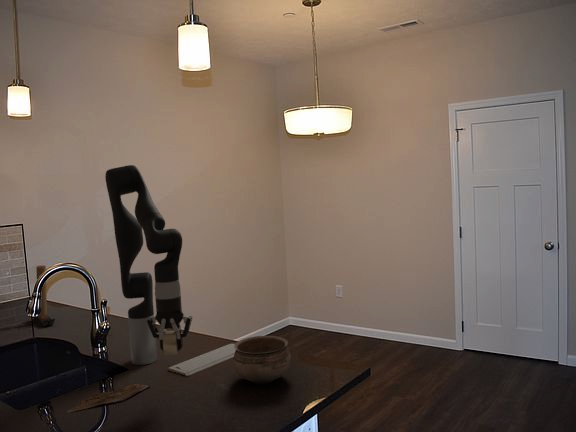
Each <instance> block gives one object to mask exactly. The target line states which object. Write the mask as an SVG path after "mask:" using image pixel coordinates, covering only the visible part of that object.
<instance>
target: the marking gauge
mask: <svg viewBox="0 0 576 432" xmlns="http://www.w3.org/2000/svg"><path fill="white" fill-rule="evenodd" d="M162 337H163V351H164V352H163V351H162V352H163V355H164V356H165V355H178V353H179V352H180V351H177V337H176V334H175V332H174V330H166V332H165V333H164V334H163V335H162Z"/></svg>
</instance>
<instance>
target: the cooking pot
mask: <svg viewBox="0 0 576 432" xmlns="http://www.w3.org/2000/svg"><path fill="white" fill-rule="evenodd" d="M234 344H235V345H234V347H235V349H236V351H235V354H234V357H233V358H232V365H233V369H234V370H235V372H236V374H237V375H238V376H239V377H241V378H242V379H244V380H245V381H249V382H252V383H253V384H256V385H267V384H271V383H273V381H276V380H277V379H279V378H281V377H282V376H284V375H285V374H286V373H287V371H288V370H289V368H290V366H291V361H292V357H291V354H290V350H289V348H288V344H289V341H288V339H285V338H284V337H280V336H276V335H256V336H250V337H246V338H243V339H239V341H237V342H235V343H234Z"/></svg>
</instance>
